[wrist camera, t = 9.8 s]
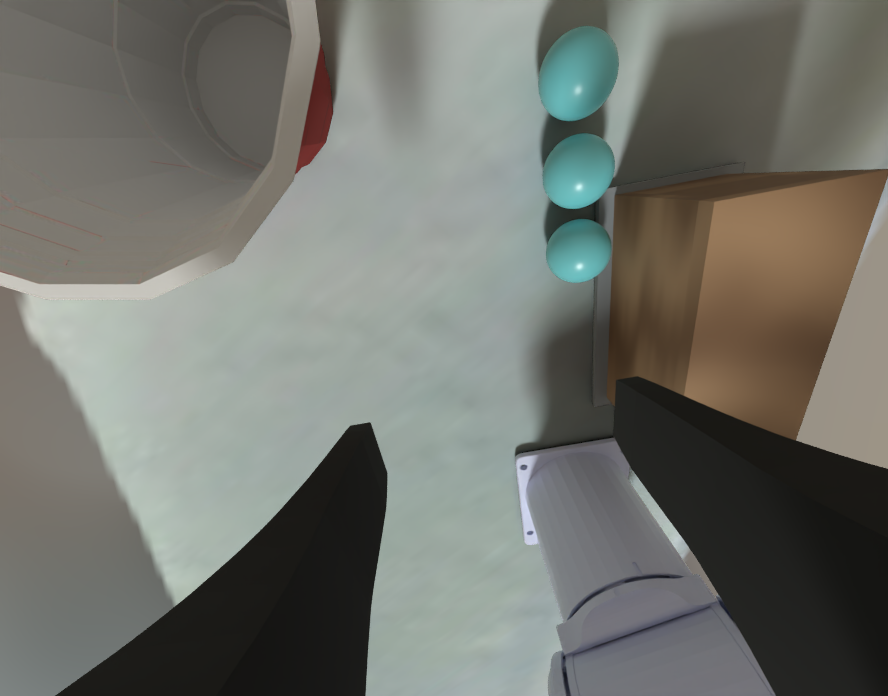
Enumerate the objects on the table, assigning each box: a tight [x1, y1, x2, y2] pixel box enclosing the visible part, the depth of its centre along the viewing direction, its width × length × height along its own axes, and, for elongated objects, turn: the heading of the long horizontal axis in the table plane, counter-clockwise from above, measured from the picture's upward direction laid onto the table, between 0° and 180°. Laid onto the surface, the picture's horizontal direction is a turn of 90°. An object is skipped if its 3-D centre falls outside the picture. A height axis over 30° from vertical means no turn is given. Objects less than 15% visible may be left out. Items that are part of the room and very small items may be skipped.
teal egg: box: [538, 26, 619, 121], centre depth 14 cm, size 3×3×3 cm
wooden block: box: [607, 169, 888, 441], centre depth 17 cm, size 12×6×6 cm, turn 10°
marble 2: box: [546, 219, 612, 283], centre depth 17 cm, size 3×3×3 cm
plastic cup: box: [0, 0, 333, 300], centre depth 10 cm, size 11×11×12 cm
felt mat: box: [592, 162, 745, 407], centre depth 20 cm, size 13×7×1 cm, turn 10°
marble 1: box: [543, 133, 615, 209], centre depth 15 cm, size 3×3×3 cm
